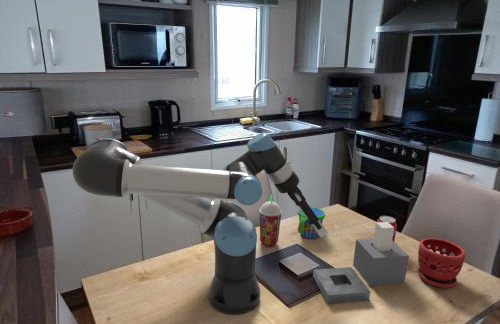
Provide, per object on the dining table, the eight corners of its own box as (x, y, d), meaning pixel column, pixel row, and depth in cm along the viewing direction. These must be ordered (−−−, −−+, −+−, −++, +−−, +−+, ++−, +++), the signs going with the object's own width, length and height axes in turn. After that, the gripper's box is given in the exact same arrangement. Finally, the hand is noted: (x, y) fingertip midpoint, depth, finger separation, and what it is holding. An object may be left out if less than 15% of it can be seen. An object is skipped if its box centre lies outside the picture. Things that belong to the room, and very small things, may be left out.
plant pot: (467, 290, 113) (475, 257, 109) (427, 291, 112) (434, 257, 108) (443, 267, 125) (449, 236, 122) (406, 267, 124) (412, 236, 121)
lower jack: (327, 304, 104) (328, 295, 104) (312, 277, 117) (313, 269, 116) (369, 300, 107) (370, 291, 106) (350, 274, 119) (351, 267, 118)
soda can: (394, 253, 133) (399, 224, 130) (374, 251, 134) (379, 221, 131) (391, 244, 140) (395, 216, 136) (372, 242, 141) (376, 214, 138)
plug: (378, 256, 116) (382, 228, 113) (372, 249, 119) (376, 222, 116) (392, 255, 116) (396, 227, 114) (386, 248, 120) (390, 221, 117)
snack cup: (310, 224, 154) (312, 202, 151) (331, 233, 147) (333, 210, 144) (287, 236, 143) (288, 212, 141) (308, 246, 136) (310, 221, 133)
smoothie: (283, 242, 139) (286, 193, 133) (273, 251, 132) (275, 200, 126) (264, 236, 143) (267, 189, 137) (253, 244, 136) (255, 195, 130)
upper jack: (369, 286, 113) (373, 258, 111) (353, 265, 125) (356, 239, 122) (404, 283, 115) (409, 255, 113) (384, 262, 127) (388, 237, 124)
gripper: (305, 183, 100) (341, 236, 107) (283, 158, 124) (313, 203, 131) (283, 198, 101) (320, 250, 108) (265, 171, 124) (296, 215, 131)
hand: (316, 225), depth 119 cm, fingers open, 13 cm apart
